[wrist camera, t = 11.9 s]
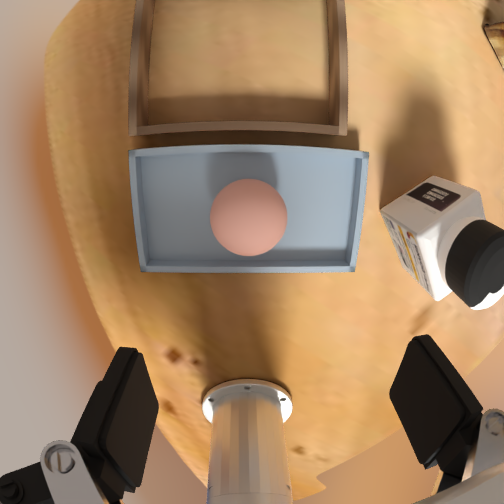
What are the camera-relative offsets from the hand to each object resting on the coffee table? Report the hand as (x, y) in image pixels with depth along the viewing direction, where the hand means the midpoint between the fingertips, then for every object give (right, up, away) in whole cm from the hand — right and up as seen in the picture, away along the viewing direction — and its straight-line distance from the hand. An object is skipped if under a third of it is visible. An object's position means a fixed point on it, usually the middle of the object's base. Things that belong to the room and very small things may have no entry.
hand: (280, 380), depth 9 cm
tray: (-1, +8, +17) cm, 19 cm away
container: (+17, +8, +18) cm, 26 cm away
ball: (-1, +8, +16) cm, 18 cm away
